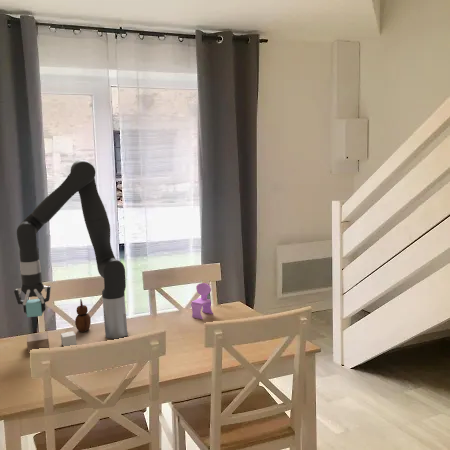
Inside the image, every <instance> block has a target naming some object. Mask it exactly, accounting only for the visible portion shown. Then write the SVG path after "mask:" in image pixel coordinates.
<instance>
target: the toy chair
mask: <svg viewBox="0 0 450 450" xmlns="http://www.w3.org/2000/svg"><path fill="white" fill-rule="evenodd" d="M196 291H197V294H198V295H200V297H198V298H196V299H195V300H192V301H191V304H190V306H191V313H192V316H191V318H195V319H200V320H203V319H204V318H203V316H202V313H205V314H210V315H214V312H213V310H212V307H211V305H212V300H211V299H208V295H209V294H211V292H212V289H211V286H210V285H209V284H208V283H206V282H201V283H198V284H197V285H196Z"/></svg>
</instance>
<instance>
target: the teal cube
mask: <svg viewBox="0 0 450 450" xmlns="http://www.w3.org/2000/svg"><path fill="white" fill-rule="evenodd" d="M26 312H27V314H26V318H34V317H42V315H43V313H44V312H42V307H41V301H40V300H39V298H34V299H28V300H27V303H26Z"/></svg>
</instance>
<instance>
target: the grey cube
mask: <svg viewBox="0 0 450 450" xmlns="http://www.w3.org/2000/svg"><path fill="white" fill-rule="evenodd" d="M76 336H77V335H76V333H75V331H74V330H72V331H67V332H61V333H60V340H61V346H62V345H63V346H70V345H78V344H77V337H76ZM63 346H62V347H63Z"/></svg>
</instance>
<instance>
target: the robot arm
mask: <svg viewBox="0 0 450 450" xmlns="http://www.w3.org/2000/svg"><path fill="white" fill-rule="evenodd" d="M95 177H96V168H95V166H94V165H93V164H92V163H91V162H89V161H88V160H86V159H77V160H76V161H75V162H73V164H71V166H70V173H68V175H67V177H66V178H65V179H64V180H63V181H62V183H61V184H60V185H59V186H58V187H57V188H56V189H54V190H53V191H51V193H50V194H48V195H47V196H46V197H45V198H44V199H43V200H42V201H41V202H40V203H39V204H38V205H37V206H36V207H35V208H34V210H33V211H32V212H31V213H30V214H29V215H28V216H26V217H25V218H24V219H23V220H22V222H20V223H19V224H18V226H17V229H16V238H17V243H18V244H17V245H18V247H19V263H20V267H19V268H20V271H19V272H20V277H21V278H20V279H21V287H20V288H15V289H14V292H13V293H14V296H15V298H16V301H17V304H18V305H22V307H23V312H24V314H25V315H27V312H26V303H27V301H28V300H29V299H30V298H36V297H37V299H39V300H40V301H41V307H42V312H43V313H44V312H46V308H47V307H46V303H47V302H49V301H50V299H51V291H52V290H51V289H52V286H51V285H48V286H47V285H44V283H43V280H42V279H43V277H42V268H41V267H42V266H41V262H40V254H39V248H38V243H37V233H38V232H39V231H40V230H41V229H42V228H43V226H44V225H45V224H47V223H48V222H50V220H52V219H53V217H54V216H55V215H56V214H57V213H58V212H59V211H60V210H61V209H62V208H63V207H64V206H65V205H66V203H68V201H69V200H70V199H71V198H72V197H74V196H75V195H76V194H77V193H78V194H79V195H78V196H79V198H80V204H81V210H82V215H83V219H84V220H83V221H84V222H85V223H84V224H85V227H86V231H87V232H88V235H89V236H88V237H89V239H90V242H91V244H92V247H93V251H94V256H95V261H96V267H97V271H98V274H99V275H100V277H101V278H103V282H104V283H103V284H104V285H103V286H104V288H103V289H102V290H101V291H102V292H101V296H102V310H103V321H104V333H105V335H104V336H105V338H108V339H112V340H114V339H120V338H124V337H128V336H129V335H128V334H129V333H128V324H127V323H128V322H127V321H128V319H127V309H126V295H125V294H126V293H125V291H126V286H127V284H126V280H127V279H126V269H125V266H124V264H123V262H122V261H120V260H119V259H116V257H115V254H114V251H113V248H112V245H111V225H110V220H109V217H108V213H107V210H106V208H105V205H104V203H103V201H102V198H101V196H100V195H99V192H98V188H97V184H96V179H95ZM43 290H44V292H45V293H46V294H45V297H44V295H43V294H42V291H43ZM21 292H23V294H24V295H25V296H24V298H23V299H22V297H21Z"/></svg>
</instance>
